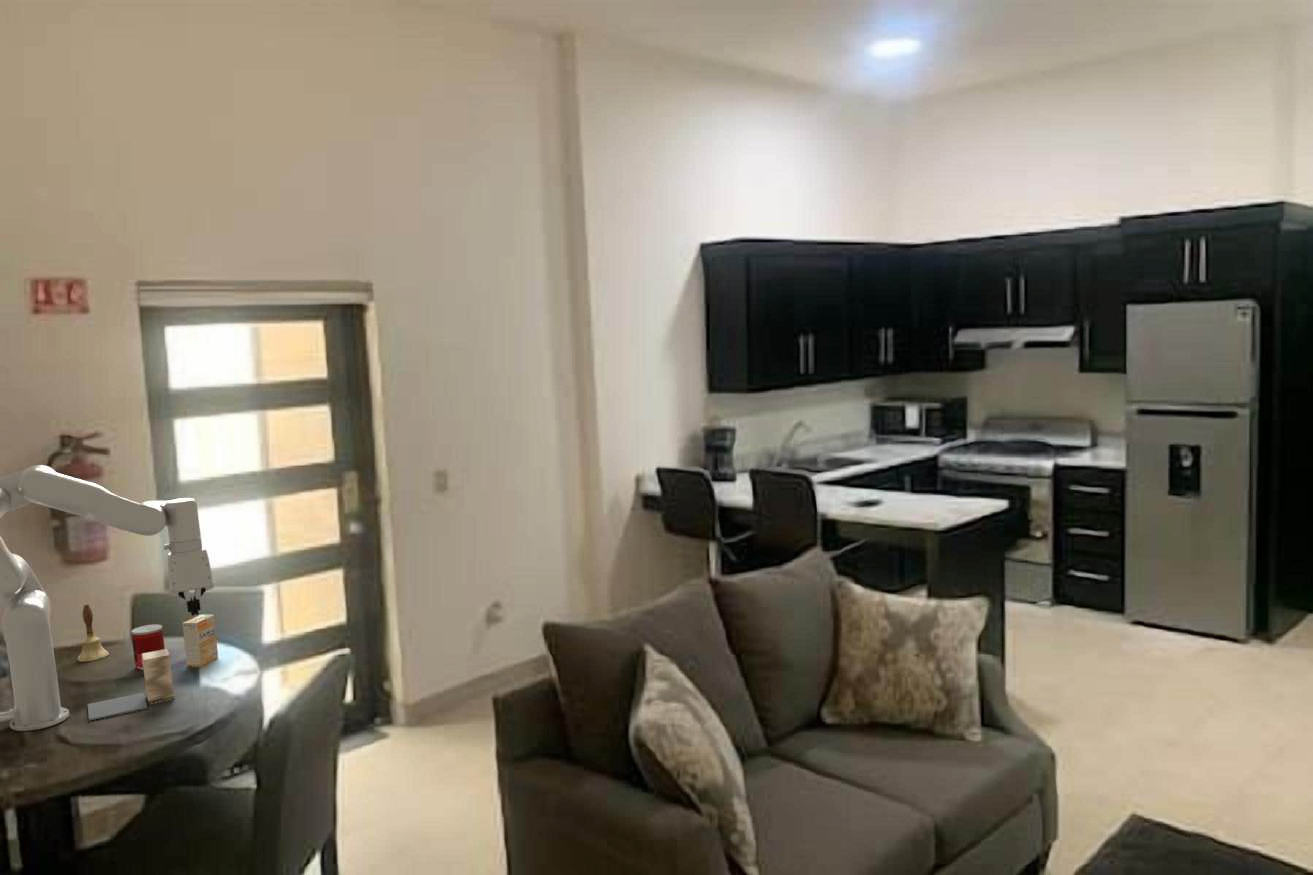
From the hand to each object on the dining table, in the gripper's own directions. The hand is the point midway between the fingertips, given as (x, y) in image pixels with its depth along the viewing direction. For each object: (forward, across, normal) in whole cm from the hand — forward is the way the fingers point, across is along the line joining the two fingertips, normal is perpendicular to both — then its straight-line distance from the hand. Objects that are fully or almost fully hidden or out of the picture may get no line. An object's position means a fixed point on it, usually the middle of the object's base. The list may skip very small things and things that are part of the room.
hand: (194, 613), depth 268 cm
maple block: (+21, -10, 0) cm, 23 cm away
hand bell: (+21, -24, +51) cm, 60 cm away
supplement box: (+21, +2, +24) cm, 32 cm away
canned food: (+21, -10, +31) cm, 39 cm away
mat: (+20, -20, 0) cm, 29 cm away
